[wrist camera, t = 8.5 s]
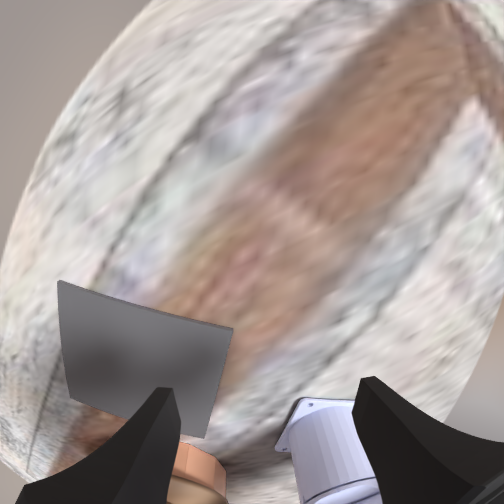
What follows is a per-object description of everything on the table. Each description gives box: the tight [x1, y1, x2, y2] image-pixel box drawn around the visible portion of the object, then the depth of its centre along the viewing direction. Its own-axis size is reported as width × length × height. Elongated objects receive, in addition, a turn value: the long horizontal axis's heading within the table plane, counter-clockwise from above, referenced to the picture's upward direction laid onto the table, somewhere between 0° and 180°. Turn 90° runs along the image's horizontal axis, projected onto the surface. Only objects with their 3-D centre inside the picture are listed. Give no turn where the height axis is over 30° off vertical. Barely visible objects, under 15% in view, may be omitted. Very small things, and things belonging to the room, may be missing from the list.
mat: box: [57, 280, 233, 439], centre depth 20 cm, size 14×13×1 cm
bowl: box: [172, 442, 226, 498], centre depth 22 cm, size 13×13×5 cm
